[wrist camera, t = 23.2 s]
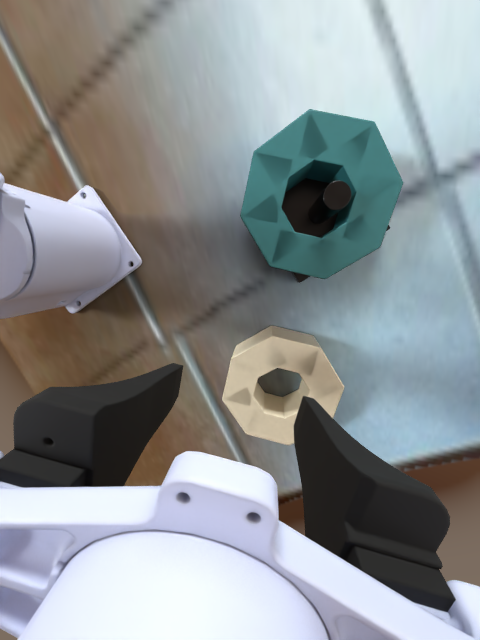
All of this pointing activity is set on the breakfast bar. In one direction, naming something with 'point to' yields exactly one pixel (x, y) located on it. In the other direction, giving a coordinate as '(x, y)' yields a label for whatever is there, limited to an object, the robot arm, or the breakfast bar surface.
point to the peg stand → (315, 208)
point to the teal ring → (327, 166)
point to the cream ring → (270, 410)
